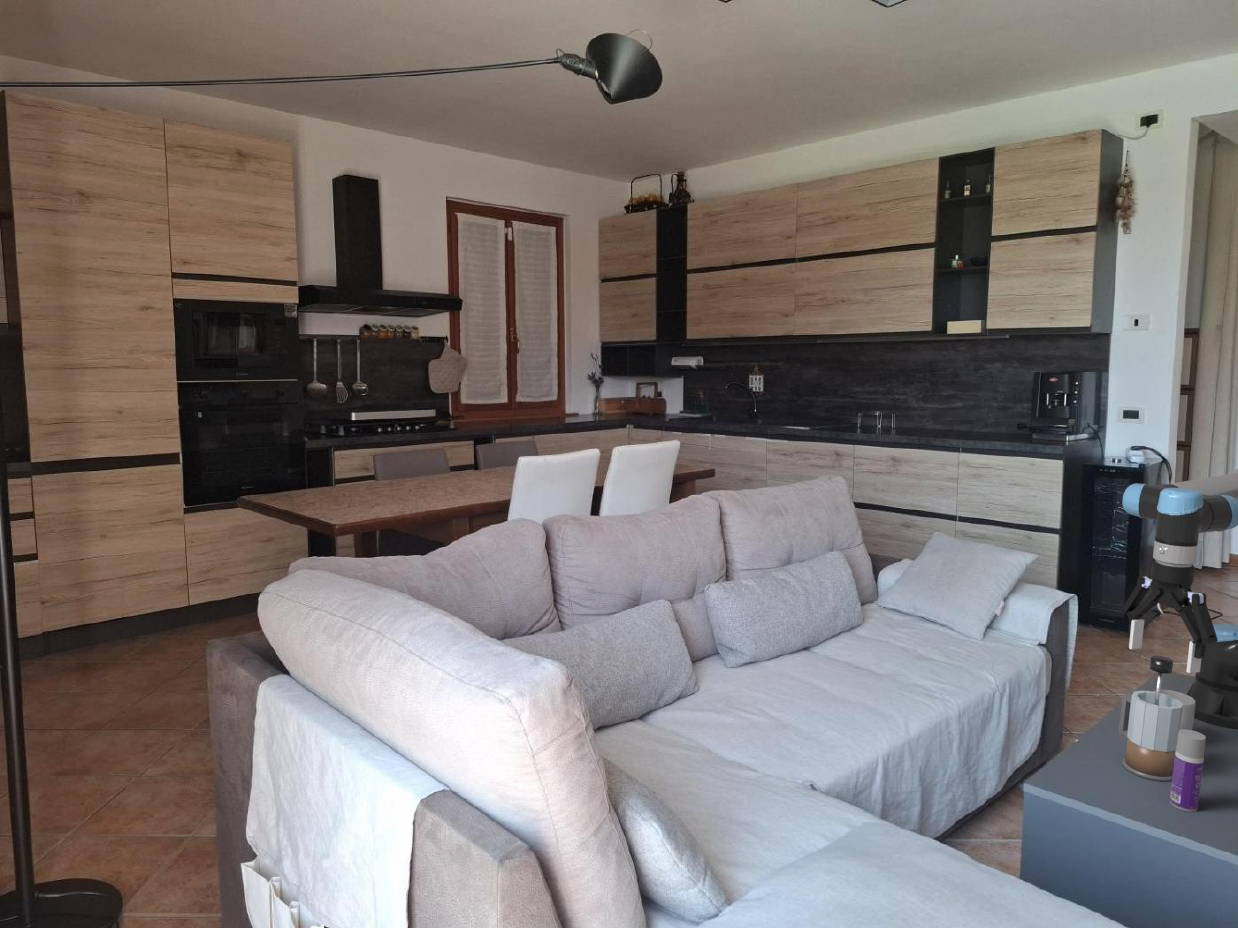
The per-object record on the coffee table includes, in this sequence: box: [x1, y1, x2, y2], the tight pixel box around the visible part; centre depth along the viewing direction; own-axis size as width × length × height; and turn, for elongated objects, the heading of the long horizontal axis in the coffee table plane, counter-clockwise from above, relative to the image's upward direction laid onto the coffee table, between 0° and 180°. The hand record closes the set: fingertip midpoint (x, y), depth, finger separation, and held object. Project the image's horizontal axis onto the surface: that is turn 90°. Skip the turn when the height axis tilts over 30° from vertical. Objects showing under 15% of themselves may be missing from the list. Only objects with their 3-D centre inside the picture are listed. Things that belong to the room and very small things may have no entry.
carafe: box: [1118, 690, 1183, 783], centre depth 180 cm, size 10×12×16 cm
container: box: [1169, 729, 1207, 813], centre depth 165 cm, size 5×5×15 cm
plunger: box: [1149, 655, 1174, 706], centre depth 178 cm, size 6×6×18 cm
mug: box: [1152, 689, 1196, 731], centre depth 194 cm, size 12×8×11 cm
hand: (1163, 659), depth 177 cm, fingers open, 13 cm apart
